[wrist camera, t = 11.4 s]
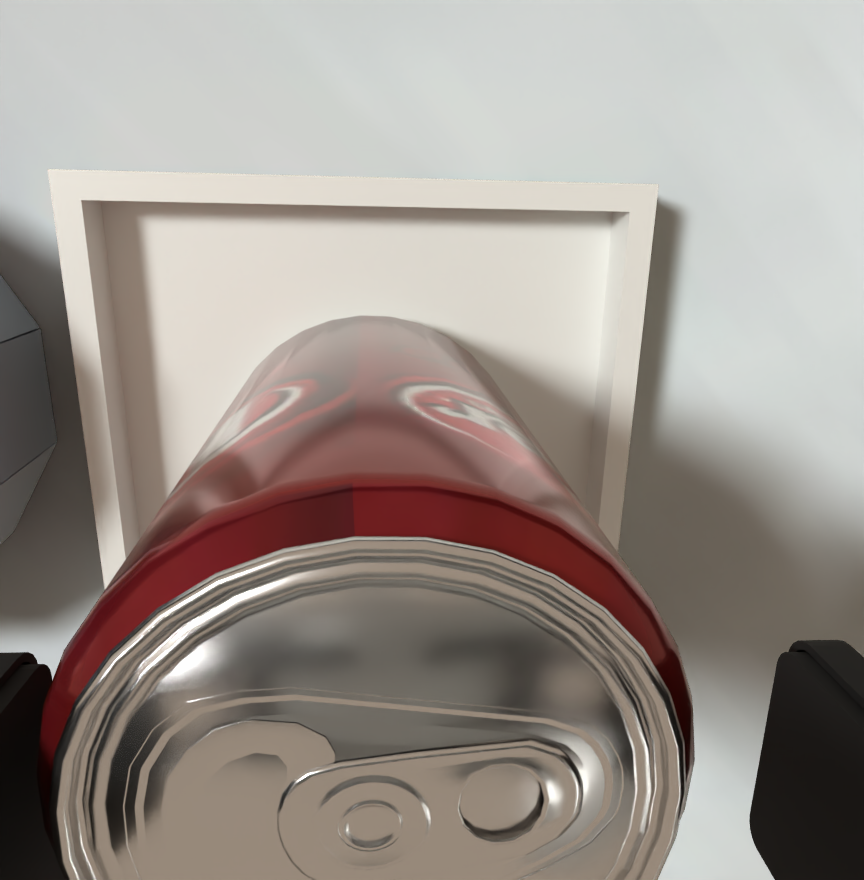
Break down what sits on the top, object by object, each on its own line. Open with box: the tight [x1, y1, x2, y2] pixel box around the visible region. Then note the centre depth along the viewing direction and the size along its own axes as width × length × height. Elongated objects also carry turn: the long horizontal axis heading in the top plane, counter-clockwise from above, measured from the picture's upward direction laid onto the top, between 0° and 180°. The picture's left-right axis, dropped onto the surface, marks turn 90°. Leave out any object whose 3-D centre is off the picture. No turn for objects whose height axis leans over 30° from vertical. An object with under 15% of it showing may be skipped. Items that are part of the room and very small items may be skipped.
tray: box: [48, 169, 659, 589], centre depth 18 cm, size 13×13×2 cm
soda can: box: [37, 315, 695, 880], centre depth 13 cm, size 7×7×12 cm
